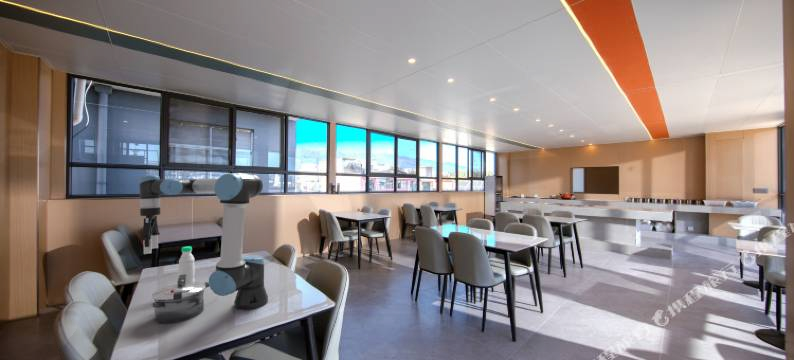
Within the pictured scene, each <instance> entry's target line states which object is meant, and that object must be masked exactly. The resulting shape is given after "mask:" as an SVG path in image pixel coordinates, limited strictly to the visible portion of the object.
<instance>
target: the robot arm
mask: <svg viewBox="0 0 794 360" xmlns="http://www.w3.org/2000/svg"><path fill="white" fill-rule="evenodd" d="M263 188H264V183H263V180H262V178H260V177H259V176H258V175H256V174H253V173H240V172H239V173H237V172H234V173H233V172H232V173H231V172H229V173H224V174H222V175H220V177H219V178H200V179H199V178H197V179H196V178H192V179H189V178H188V179H183V178H181V179H178V178H177V179H175V178H167V179H165V178H164V179H160V176H158V175H142V176H140V177H139V200H138V203H139V206H140V209H139V211H140V213H139V215H140V216H141V217H145V218H143V225H142V226H143V227H142V236H141V238H140V240H141V241H143V255H147V254H148V255H149V254H152V250H153V249H159V235H160V233H161V232H160V231H159V225H158V216H159V215H161V207H160V206H161V196H163V195H164V196H174V195H191V194H193V195H194V194H197V195H198V194H200V195H201V194H207V195H209V194H215V195H216V197H217V198H218V199H219V204H220V205H222V207H223V211H222V227H221V229H222V230H221V245H220V256H219V257H220V259H219V260H218V262H216V264H215V270H214V271H212V272H211V274H210V275H209V277H208V282H209V288H210V290H211V291H212V292H213V293H214V294H216V295H217V296H219V297H220V296H221V297H226V296H229V295H232V294H234V293H235V292H237V293H236V294H235V299H234V301H233V307H234V309H236V310H240V311H241V310H242V311H244V310H253V309H256V308H260V307H263V306H264V305H266V304H267V303H268V302H269V295H268V294H267V293H268V292H267V290H266V287H265V259H264V258H263V257H262V256H258V255H257V256H254V255H252V256H243V248H244V247H243V246H244V235H245V234H244V232H245V220H246V219H245V218H246V217H245V215H246V207H247V206H248V205H249V204H250V199H253V198H255V197H258V196H259V195H260V194H261V193H262V191H263Z"/></svg>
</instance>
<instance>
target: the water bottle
mask: <svg viewBox="0 0 794 360" xmlns="http://www.w3.org/2000/svg"><path fill="white" fill-rule="evenodd" d="M192 251H193V247H192V246H191V245H190V246H189V245H188V246H182V247H181V253H182V254H181V255H180V258H179V259H178V263H179V264H178V265H179V266H178V276H179V275H185V274H186V283H191V282H196V281H195V280H196V279H195V274H196V273H195V271H196V270H195V261H196V260H195V257H194V255H193V254H192Z"/></svg>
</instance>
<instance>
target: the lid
mask: <svg viewBox="0 0 794 360" xmlns="http://www.w3.org/2000/svg"><path fill="white" fill-rule="evenodd" d="M204 283H205V282H197V281H195V282H191V283H186V274H185V275H179V274H178V279H177V284H173V285H170V286H165V287H162V288H161V289H158V290H156V291H155V292H154V291H153V293H152V295H151V297H152V298H151V299H153V301H154V300H159V301H167V300H178V299H182V298H185V297H189V296H192V295H195V294H198V293H200V292H202V291H203V290H204V291H205V290H206V289H207V288H206V285H205V284H204Z"/></svg>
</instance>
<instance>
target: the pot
mask: <svg viewBox="0 0 794 360" xmlns="http://www.w3.org/2000/svg"><path fill="white" fill-rule="evenodd" d="M203 283H204V284H205V285H206V288H205V289H207V288H210V286H209V281H205V282H203ZM205 289H204V290H203V291H202V292H200V293H198V294H195V295H192V296H189V297H185V298H182V299H178V300H167V301H159V300H154V299H153V301H154V302H153V303H152V308H154V322H155V323H157V324H160V325H169V324H176V323H180V322H181V323H182V322H185V321H189V320H191V319H193V318H196V317H197V316H199V315H201V314H202V313H203V311H204V309H205V307H204V306H205V305H204V304H205V303H204V301H205V299H204V297H205V295H204V293H205V292H204V291H205Z"/></svg>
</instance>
